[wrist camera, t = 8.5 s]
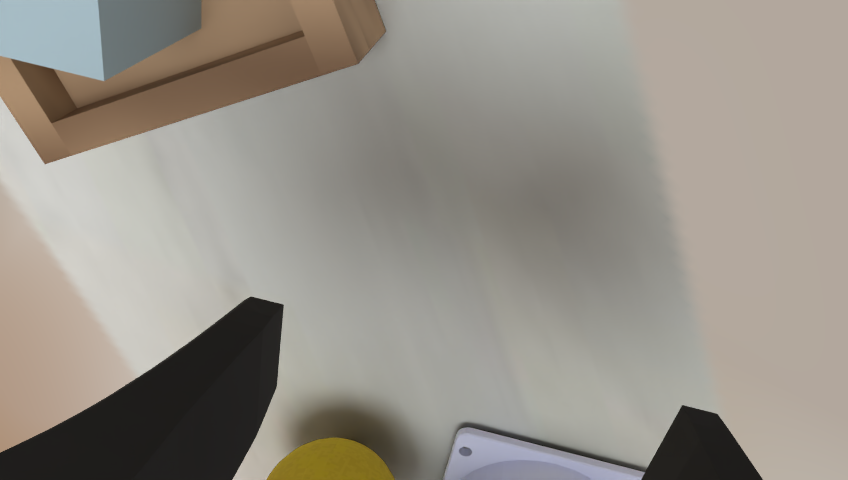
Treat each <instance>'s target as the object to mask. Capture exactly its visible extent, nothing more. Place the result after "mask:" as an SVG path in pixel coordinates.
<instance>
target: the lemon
mask: <svg viewBox="0 0 848 480" xmlns="http://www.w3.org/2000/svg"><path fill="white" fill-rule="evenodd" d="M267 480H395V479H394V477H393V475H392V473H391V472H390V470H389V468H388V467H387V465H386V464H385V462H384V461H383V460H382V459H381V458H380V457H379V456H378V455H377V454H376V453H375V452H374V451H372V450H371V449H369V448H368V447H366V446H365V445H363V444H360V443H358V442H356V441H353V440H349V439H345V438H333V437H332V438H325V439H318V440H315V441H312V442H310V443H307V444H304V445H302V446H300V447H298V448H297V449H295V450H294V451H292V452H291V453H290V454H289V455H287V456H286V457H285V458H284V459H282V460H281V461H280V462H279V463H278V464H277V466H276V467H275V468H274V469H273V471H272V472H271V473H270V475H269V476H268V478H267Z"/></svg>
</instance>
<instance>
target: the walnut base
mask: <svg viewBox="0 0 848 480" xmlns="http://www.w3.org/2000/svg"><path fill="white" fill-rule="evenodd" d="M385 32H386V30H385V27H384V25H383V22H382V19H381V16H380V14H379V11H378V8H377V6H376V3H375V0H201V29H199V30H198V31H196V32H194V33H192V34H190V35H188V36H186V37H185V38H183V39H181V40H179V41H177V42H175V43H174V44H172V45H170V46H168V47H166V48H164V49H163V50H161V51H159V52H157V53H155V54H153V55H151V56H150V57H148V58H146V59H144V60H142V61H140V62H139V63H137V64H135V65H133V66H131V67H129V68H127V69H126V70H124V71H122V72H120V73H118V74H116V75H115V76H113V77H111V78H109V79H107V80H105V81H102V80H97V79H93V78H89V77H85V76H81V75H77V74H73V73H69V72H65V71H60V70H56V69H52V68H48V67H44V66H40V65H36V64H32V63H28V62H23V61H19V60H15V59H11V58H7V57H3V56H0V96H1V98H2V100H3V101H4V103H5V104H6V106H7V107H8V109H9V110H10V112H11V113H12V115H13V116H14V118H15V119H16V121H17V122H18V124H19V125H20V127H21V128H22V130H23V132H24V133H25V135H26V136H27V138H28V139H29V141H30V142H31V144H32V145H33V147H34V148H35V150H36V151H37V153H38V154H39V156H40V157H41V159H42V160H43V162H44V163H45V164H47V163H50V162H53V161H56V160H59V159H63V158H66V157H69V156H72V155H75V154H78V153H81V152H84V151H87V150H91V149H94V148H97V147H100V146H103V145H106V144H109V143H112V142H116V141H119V140H122V139H125V138H128V137H131V136H134V135H137V134H141V133H144V132H147V131H150V130H153V129H156V128H159V127H162V126H166V125H169V124H172V123H175V122H178V121H181V120H184V119H187V118H190V117H194V116H197V115H200V114H203V113H206V112H209V111H212V110H215V109H219V108H222V107H225V106H228V105H231V104H234V103H237V102H240V101H244V100H247V99H250V98H253V97H256V96H259V95H262V94H265V93H269V92H272V91H275V90H278V89H281V88H284V87H287V86H290V85H293V84H297V83H300V82H303V81H306V80H309V79H312V78H315V77H318V76H322V75H325V74H328V73H331V72H334V71H337V70H340V69H343V68H347V67H350V66H353V65H356V64H358V63H359V62H360V61H361V60H362V59H363V57H364V56H365V55H366V54H367V53H368V52H369V50H370V49H371V48H372V47H373V46H374V45H375V43H376V42H377V41H378V40H379V39H380V38H381V37H382V35H383V34H384V33H385Z"/></svg>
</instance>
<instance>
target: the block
mask: <svg viewBox="0 0 848 480" xmlns="http://www.w3.org/2000/svg"><path fill="white" fill-rule="evenodd" d="M199 29H201V0H0V56H3V57H7V58H11V59H15V60H19V61H23V62H28V63H32V64H36V65H40V66H44V67H48V68H52V69H56V70H60V71H65V72H69V73H73V74H77V75H81V76H85V77H89V78H93V79H97V80H102V81H105V80H107V79H109V78H111V77H113V76H115V75H116V74H118V73H120V72H122V71H124V70H126V69H127V68H129V67H131V66H133V65H135V64H137V63H139V62H140V61H142V60H144V59H146V58H148V57H150V56H151V55H153V54H155V53H157V52H159V51H161V50H163V49H164V48H166V47H168V46H170V45H172V44H174V43H175V42H177V41H179V40H181V39H183V38H185V37H186V36H188V35H190V34H192V33H194V32H196V31H198V30H199Z"/></svg>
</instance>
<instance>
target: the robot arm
mask: <svg viewBox="0 0 848 480" xmlns="http://www.w3.org/2000/svg"><path fill="white" fill-rule="evenodd" d="M283 306H284V305H282V304H278V303H274V302H270V301H267V300H263V299H259V298H255V297H249V298H248V299H246V300H244V301H243V302H242V303H240V304H239V305H238V306H236V307H235V308H234V309H233V310H231V311H230V312H229V313H227V314H226V315H225V316H224V317H222V318H221V319H220V320H218V321H217V322H216V323H215V324H213V325H212V326H211V327H209V328H208V329H207V330H205V331H204V332H203V333H201V334H200V335H199V336H197V337H196V338H195V339H193V340H192V341H191V342H189V343H188V344H186V345H185V346H183V347H182V348H181V349H179V350H178V351H176V352H175V353H174V354H172V355H171V356H169V357H168V358H167V359H165V360H164V361H162V362H161V363H159V364H158V365H156V366H155V367H153V368H152V369H151V370H149V371H147V372H146V373H144V374H143V375H141V376H140V377H138V378H136V379H135V380H133V381H132V382H130V383H129V384H127V385H125V386H124V387H122V388H121V389H119V390H118V391H116V392H114V393H113V394H111V395H110V396H108V397H106V398H105V399H103V400H101V401H99V402H98V403H96V404H95V405H93V406H91V407H89V408H87V409H86V410H84V411H82V412H80V413H79V414H77V415H75V416H73V417H71V418H69V419H67V420H66V421H64V422H62V423H60V424H58V425H56V426H54V427H52V428H50V429H49V430H47V431H45V432H43V433H40V434H38V435H36V436H34V437H32V438H30V439H28V440H26V441H24V442H22V443H20V444H18V445H16V446H14V447H11V448H9V449H7V450H5V451H3V452H1V453H0V480H232V479H233V477H234V476H235V474H236V472H237V470H238V468H239V467H240V465H241V463H242V461H243V459H244V458H245V456H246V454H247V452H248V450H249V449H250V447H251V445H252V443H253V441H254V439H255V438H256V435H257V433H258V431H259V428H260V426H261V424H262V421H263V419H264V417H265V414H266V412H267V409H268V407H269V404H270V402H271V399H272V397H273V394H274V392H275V389H276V387H277V376H278V365H279V353H280V341H281V329H282V318H283ZM463 447H467V448H469V449H466V448H463ZM443 480H762V478H761V476H760V475H759V473H758V472H757V470H756V469H755V468H754V466H753V465H752V463H751V462H750V460H749V459H748V457H747V456H746V454H745V453H744V451H743V450H742V449H741V447H740V445H739V444H738V443H737V441H736V440H735V438H734V437H733V435H732V434H731V432H730V431H729V430H728V428H727V427H726V425H725V424H724V422H723V421H722V420H721V418H720V417H719V416H718V414H715V413H711V412H707V411H703V410H699V409H695V408H691V407H688V406H684V405H682V407H681V409H680V410H679V412H678V414H677V416H676V418H675V420H674V421H673V423H672V425H671V427H670V429H669V430H668V432H667V434H666V436H665V438H664V439H663V441H662V443H661V445H660V447H659V448H658V450H657V452H656V454H655V456H654V457H653V459H652V461H651V463H650V465H649V466H648V468H647V470H646V472H642V471H638V470H634V469H630V468H626V467H622V466H618V465H615V464H611V463H607V462H603V461H599V460H595V459H591V458H587V457H583V456H580V455H576V454H572V453H568V452H564V451H560V450H556V449H552V448H548V447H545V446H541V445H537V444H533V443H529V442H525V441H521V440H517V439H513V438H509V437H506V436H502V435H498V434H494V433H490V432H486V431H482V430H478V429H474V428H469V427H466V428H462V429H460V430H458V432H457V434H456V437H455V440H454V444H453V447H452V450H451V454H450V457H449V460H448V463H447V467H446V470H445V473H444V477H443Z"/></svg>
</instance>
